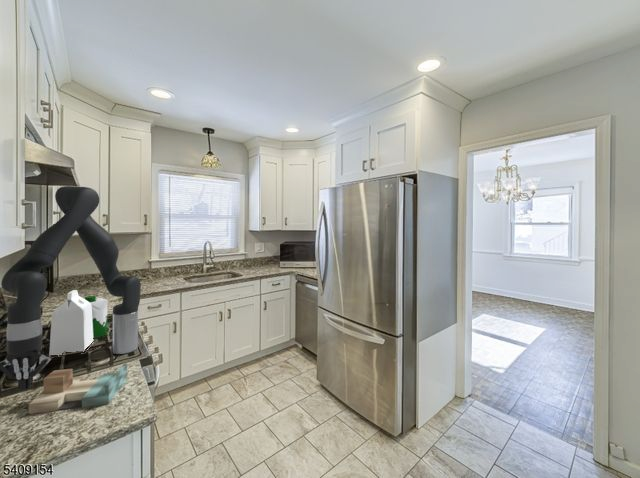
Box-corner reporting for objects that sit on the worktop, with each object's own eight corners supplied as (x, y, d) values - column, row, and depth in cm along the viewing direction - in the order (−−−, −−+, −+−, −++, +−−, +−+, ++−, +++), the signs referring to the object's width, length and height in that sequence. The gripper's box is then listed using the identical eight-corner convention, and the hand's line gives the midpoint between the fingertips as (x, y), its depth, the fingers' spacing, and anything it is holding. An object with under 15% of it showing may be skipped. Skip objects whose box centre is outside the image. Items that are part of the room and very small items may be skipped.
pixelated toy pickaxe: (59, 386, 93) (59, 369, 93) (126, 379, 99) (126, 363, 99) (28, 414, 80) (28, 394, 80) (108, 403, 85) (108, 385, 85)
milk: (61, 345, 124) (61, 289, 123) (93, 342, 129) (93, 287, 128) (49, 357, 113) (48, 295, 112) (84, 353, 118) (84, 293, 117)
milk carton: (80, 336, 134) (80, 296, 133) (102, 331, 142) (102, 293, 141) (88, 341, 130) (87, 299, 129) (110, 334, 137) (110, 295, 137)
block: (54, 385, 89) (54, 370, 89) (72, 383, 91) (72, 368, 90) (43, 394, 84) (43, 378, 84) (63, 392, 86) (63, 376, 86)
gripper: (58, 328, 90) (59, 380, 91) (7, 331, 86) (8, 385, 87) (42, 337, 83) (43, 393, 83) (-14, 341, 79) (-13, 399, 80)
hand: (25, 389), depth 85 cm, fingers closed
